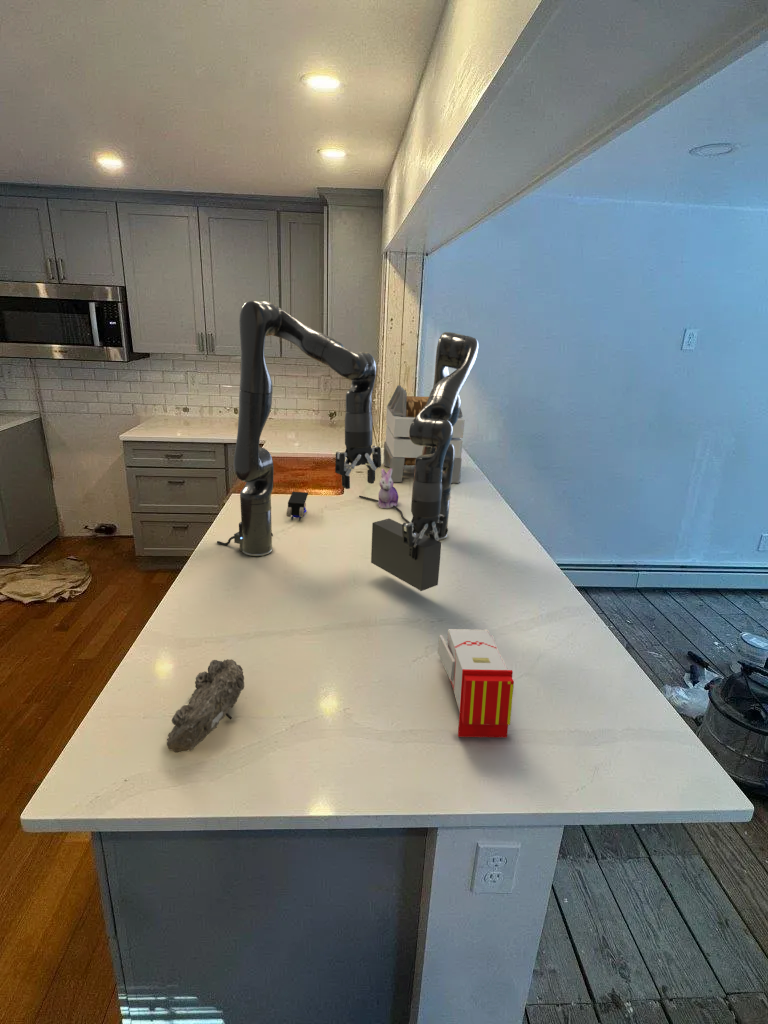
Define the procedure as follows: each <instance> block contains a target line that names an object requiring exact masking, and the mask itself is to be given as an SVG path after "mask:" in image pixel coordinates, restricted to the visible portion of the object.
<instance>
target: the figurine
mask: <svg viewBox="0 0 768 1024" xmlns="http://www.w3.org/2000/svg"><path fill="white" fill-rule="evenodd" d="M380 474H381V475H380V476H381V478H380V480H379V487H380V490H379V491H378V500H379V501H378V502H377V505H378V507H379V508H381V509H390V508H391V509H392V508H394V507H393V505H394V506H396V507H397V506H398V503H399V494H398V490H397V489H396V488H395V487H394V482H393V481H392V478H391V475H392V468H390V467H389V469H388V471H385V469H384V468H381V470H380Z"/></svg>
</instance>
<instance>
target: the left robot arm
mask: <svg viewBox="0 0 768 1024" xmlns="http://www.w3.org/2000/svg"><path fill="white" fill-rule="evenodd" d="M238 323H239V324H238V325H239V341H240V376H239V377H240V379H239V392H238V393H239V395H238V419H237V434H236V442H235V448H234V454H233V471H234V473H235V476H236V477H237V478H238V479H239V480H240V481H241V482H243V483H245V485H244V486H243V487H242V489H241V490H240V492H239V501H240V502H239V503H240V522H239V523H238V531H237V532H235V533H234V534H233V536H231V537H229V539H228V540H227V542H222V541H220V540H216V543H217V544H219V545H222V546H229V545H230V543H231V541H232V540H234V544H237V545H239V551H240V552H242V553H243V555H246V556H249V557H263V556H266V555H269V554H271V553H272V552H273V537H274V534H273V531H272V530H273V528H272V526H273V525H272V493H273V489H274V473H275V472H274V470H275V469H274V460H273V456H272V454H271V453H270V451H269V450H268V449H267V448H265V447H262V446H260V439H261V437H262V436H261V435H262V432H263V430H264V428H265V425H266V424H267V421H268V418H269V416H270V413H271V411H272V403H273V389H274V387H273V380H272V377H271V374H270V371H269V369H268V366H267V363H266V359H265V344H266V337H271V336H272V337H276V338H280V339H283V340H286V341H288V342H290V343H291V344H293V345H295V347H297V348H298V349H299V350H300V351H301V352H303V353H304V354H305V355H306V356H307V357H310V358H311V359H314V360H315V361H317V362H319V363H321V364H323V365H326V366H327V367H329V368H330V369H332V370H333V371H334V372H335V373H337V374H338V375H339V376H341V377H342V378H344V379H346V380H349V381H351V383H350V388H349V389H348V390H347V391H346V393H345V399H344V400H345V404H344V405H345V415H344V445H345V451H343V452H342V451H336V452H335V461H334V462H335V463H334V464H335V466H334V472H335V474H338V475H340V476H341V486H342V488H343V489H346V490H349V489H351V476H350V474H351V472H352V470H354V469H355V467H358V466H362V465H363V466H364V465H365V466H366V468H367V471H366V472H367V473H366V474H367V479H366V480H367V483H368V484H374V483H375V481H376V471H377V469H379V468H380V469H381V467H382V450H381V448H382V447H380V446H377V445H373V414H372V413H373V410H372V409H373V407H372V406H373V405H372V403H373V401H372V400H373V399H372V397H373V396H372V394H373V390H374V386H375V380H376V374H377V365H376V361H375V357H374V356H373V355H372V354H371V353H370V352H367V351H356V352H354V351H352V350H349V349H347V348H346V347H344V344H343V343H342V342H341V341H339V340H337V339H335V338H333V337H331V336H329V335H327V334H325V333H323V332H320V331H318V330H317V329H314V328H312V327H311V326H308V325H307V324H304V323H302V322H301V321H300V320H298V319H296V317H293V316H292V315H290V314H289V313H288V312H286V311H285V310H284V309H283V308H281V307H279V306H278V305H277V304H275V303H273V302H271V301H266V300H248V301H246V302H245V303H244V304H243V305H242V307H241V309H240V313H239V321H238ZM371 457H372V458H371Z"/></svg>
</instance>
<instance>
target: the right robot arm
mask: <svg viewBox="0 0 768 1024" xmlns="http://www.w3.org/2000/svg"><path fill="white" fill-rule="evenodd" d="M435 351H436V352H435V362H434V363H435V364H434V365H435V366H434V376H433V377H434V379H433V385H432V388H431V391H430V393H429V396H428V397H429V398H428V401H427V404H426V405H425V407H424V408H423V409H422V410H421V411H420V413H419V414H418V415H417V416H416V417H415V418H414V420H413V422H412V424H411V426H410V429H409V437H410V440H411V441H412V443H414V444H415V445H418V446H423V450H422V455H420V456H418V457H417V458H416V460H415V466H414V470H413V471H414V474H413V482H412V489H411V504H410V505H411V507H410V512H411V515H412V518H411V520H410V521H409V520H408V519H406V517H404V514H403V511H401V510H400V508H399V507H397V505H396V506H394V505H393V507H392V508H393V509H395V510H396V511H398V512H399V514H400V517H401V519H402V520H403V521H405V522H403V523H401V524H402V536H403V544H405V545H407V546H409V557H410V559H412V560H416V559H417V548H418V547H417V545H418V543H419V541H420V540H421V539H422V537H423V535H426V536H428V537H431V538H433V539H435V540H437V541H439V542H441V541H444V540H446V539H447V538H448V533H449V528H448V525H449V517H450V516H449V514H450V504H451V494H452V493H451V491H452V483H451V482H452V472H453V466H454V458H455V449H454V446H453V445H452V444H450V442H451V439H452V436H453V426H454V425H455V423H456V422H457V420H458V416H459V411H460V408H461V405H462V400H461V397H460V393H461V392H462V389H463V387H464V386H465V383H466V382H467V380H468V378H469V376H470V374H471V372H472V370H473V367H474V366H475V363H476V360H477V357H478V353H479V341H478V339H477V338H476V337H473V336H470V335H465V334H460V333H456V332H451V331H445V332H443V333H442V334H441V335H440V336H439V338H438V341H437V344H436V350H435ZM449 369H455V370H454V371H453V372H451V373H449ZM358 498H361V499H365V500H369V501H373V502H376V503H378V501H379V499H375V498H372V497H368V496H363V495H358ZM415 532H416V533H418V534H419V535H416V534H415ZM414 538H415V541H414V542H413V540H414ZM407 539H408V540H407Z"/></svg>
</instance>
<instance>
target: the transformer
mask: <svg viewBox="0 0 768 1024" xmlns="http://www.w3.org/2000/svg"><path fill="white" fill-rule="evenodd" d="M407 394H408V393H407V390H406V389H404V388H403V387H402V385H399V384H398V385H397V386H396V388H395V390H394V392H393V394H392V395H391V398H390V400H389V402H388V404H387V405H386V413H385V414H386V415H385V423H386V428H385V438H384V442H383V466H384V467H388V468H389V469H390V468H392V475H391V478H392V481H393V483H402V482H403V475H404V469H405V466H406V467H407V466H411V467H412V466H413V467H415V460H416V458H417V457H418V456H420V455H422V450H423V446H418V445H415V444H414V443H412V441H411V440H410V437H409V429H410V426H411V424H412V422H413V420H414V418H415V417H416V416H417V415H418V414H419V413H420V411H421V410H422V409H423V408H424V407H425V405H426V404H427V401H428V398H429V396H415V395H414V396H413V395H412V396H411V395H407ZM464 429H465V419H464V418H463V411H462V408H461V407H460V411H459V416H458V420H457V422H456V423H455V425H454V426H453V436H452V439H451V442H450V444H452V445H453V446H454V449H455V458H454V466H453V472H452V482H451V484H455V483H456V484H459V483H461V472H462V461H463V460H462V453H463V442H464V441H463V440H462V439H463V438H464V431H465V430H464Z"/></svg>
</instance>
